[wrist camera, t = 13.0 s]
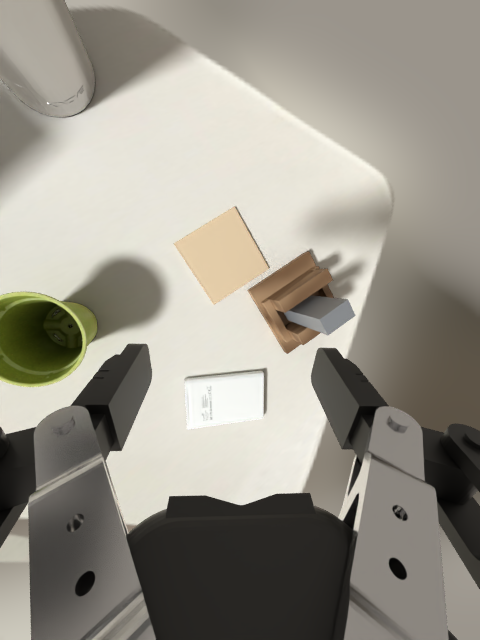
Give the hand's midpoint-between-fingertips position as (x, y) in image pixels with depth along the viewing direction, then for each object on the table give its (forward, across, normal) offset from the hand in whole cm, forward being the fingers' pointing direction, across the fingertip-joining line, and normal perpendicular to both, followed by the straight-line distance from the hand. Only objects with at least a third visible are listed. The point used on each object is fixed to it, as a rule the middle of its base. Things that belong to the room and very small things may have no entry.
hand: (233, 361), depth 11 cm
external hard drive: (+19, 0, +22) cm, 29 cm away
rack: (+25, -11, +7) cm, 28 cm away
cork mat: (+25, +1, 0) cm, 25 cm away
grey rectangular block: (+23, -10, +7) cm, 27 cm away
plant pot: (+19, +20, +9) cm, 29 cm away
